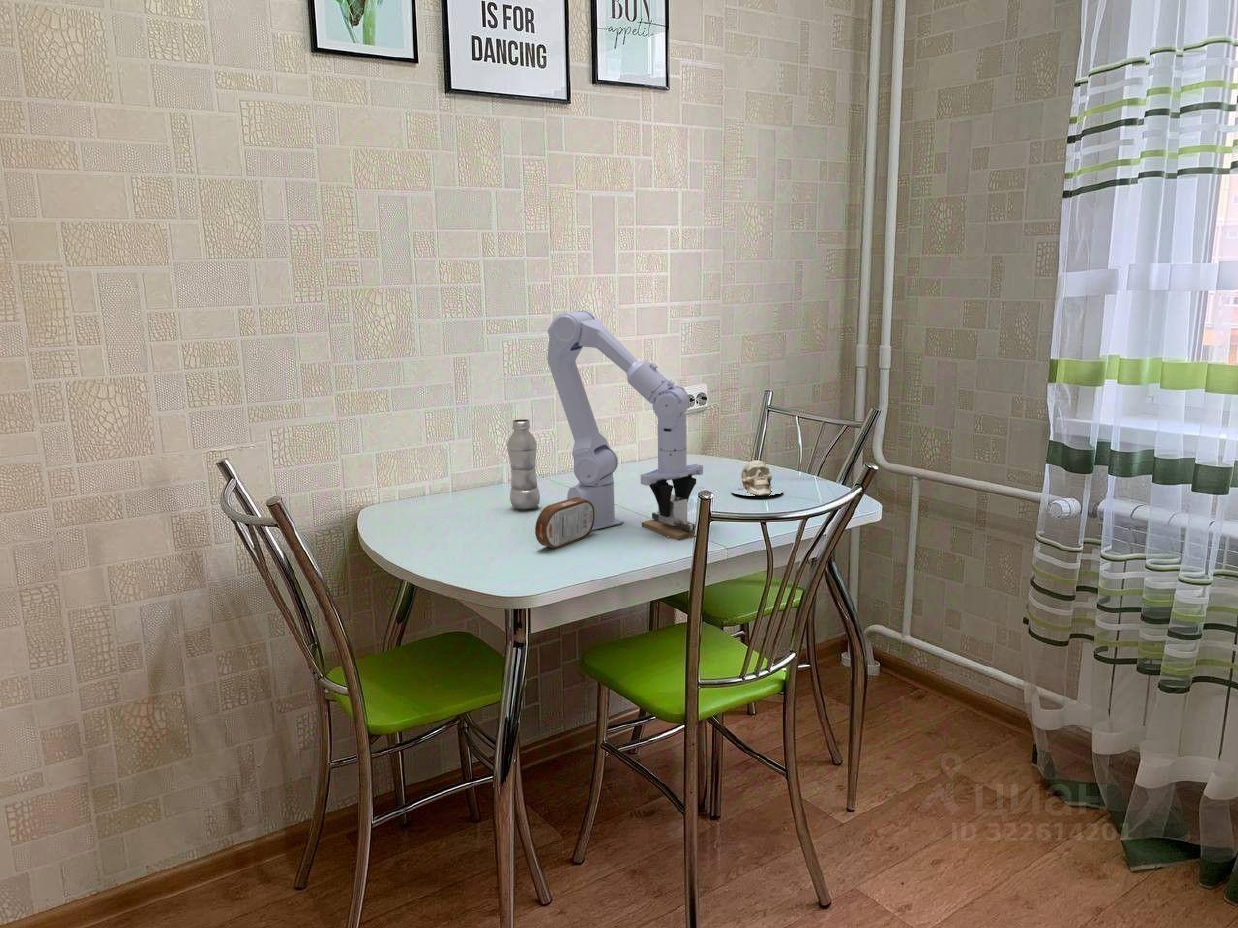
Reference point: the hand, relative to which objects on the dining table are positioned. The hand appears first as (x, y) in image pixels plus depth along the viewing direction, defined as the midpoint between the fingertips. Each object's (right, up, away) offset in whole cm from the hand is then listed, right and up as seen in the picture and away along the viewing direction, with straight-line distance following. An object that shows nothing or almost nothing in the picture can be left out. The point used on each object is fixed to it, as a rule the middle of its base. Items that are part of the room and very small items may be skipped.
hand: (672, 514), depth 186 cm
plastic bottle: (-32, 0, +20) cm, 37 cm away
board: (0, -3, +1) cm, 3 cm away
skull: (+21, +3, +28) cm, 35 cm away
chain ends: (0, -3, +1) cm, 3 cm away
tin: (-21, -6, -5) cm, 22 cm away
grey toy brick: (0, -2, 0) cm, 2 cm away
